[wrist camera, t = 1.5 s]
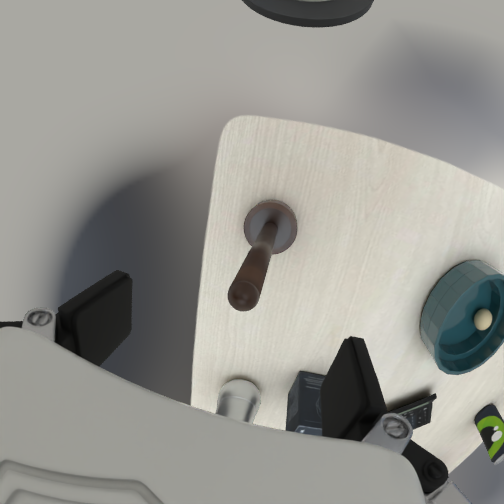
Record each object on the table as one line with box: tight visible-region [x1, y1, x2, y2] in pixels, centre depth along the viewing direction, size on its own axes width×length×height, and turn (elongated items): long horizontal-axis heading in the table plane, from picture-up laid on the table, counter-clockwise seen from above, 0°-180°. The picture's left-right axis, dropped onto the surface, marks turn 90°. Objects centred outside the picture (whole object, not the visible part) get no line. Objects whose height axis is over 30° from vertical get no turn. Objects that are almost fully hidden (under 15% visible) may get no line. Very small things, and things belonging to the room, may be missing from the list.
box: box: [286, 371, 326, 436], centre depth 32 cm, size 8×6×11 cm
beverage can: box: [475, 405, 504, 465], centre depth 28 cm, size 6×6×15 cm
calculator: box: [388, 393, 437, 429], centre depth 36 cm, size 9×12×3 cm
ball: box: [474, 309, 492, 330], centre depth 28 cm, size 3×3×3 cm
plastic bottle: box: [216, 379, 261, 424], centre depth 30 cm, size 6×7×20 cm
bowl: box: [420, 260, 504, 375], centre depth 27 cm, size 15×15×6 cm
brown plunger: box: [228, 200, 297, 311], centre depth 22 cm, size 6×6×19 cm
